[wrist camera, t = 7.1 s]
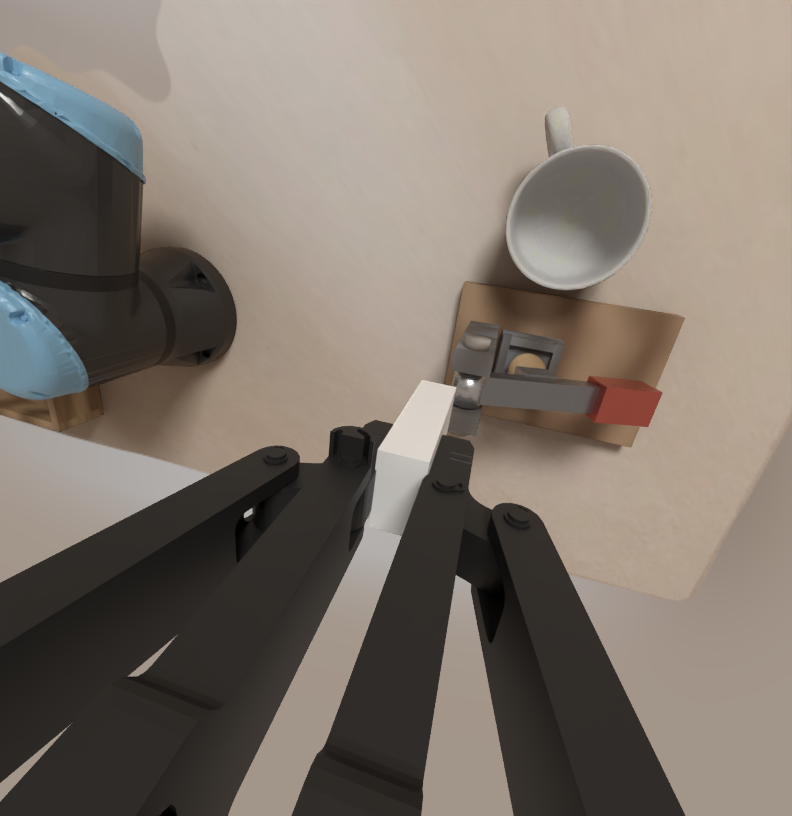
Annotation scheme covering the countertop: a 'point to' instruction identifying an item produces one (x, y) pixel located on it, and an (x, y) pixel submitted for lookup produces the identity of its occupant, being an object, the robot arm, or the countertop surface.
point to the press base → (556, 350)
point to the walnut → (525, 362)
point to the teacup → (577, 212)
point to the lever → (560, 395)
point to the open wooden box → (54, 409)
